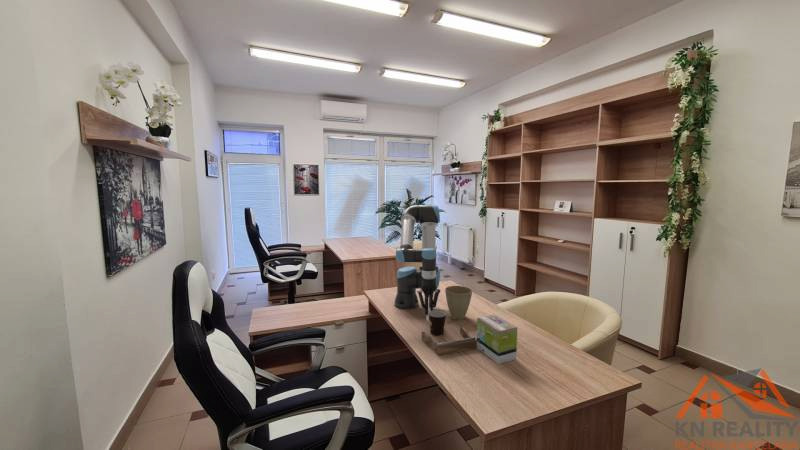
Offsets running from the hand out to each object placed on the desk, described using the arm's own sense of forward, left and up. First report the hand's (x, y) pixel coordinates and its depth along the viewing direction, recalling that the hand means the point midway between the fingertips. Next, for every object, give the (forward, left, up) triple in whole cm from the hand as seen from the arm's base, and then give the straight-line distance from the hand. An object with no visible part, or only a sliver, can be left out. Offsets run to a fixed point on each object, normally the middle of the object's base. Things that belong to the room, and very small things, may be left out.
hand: (428, 320), depth 170 cm
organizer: (+24, 0, -2) cm, 24 cm away
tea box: (+39, +15, -2) cm, 42 cm away
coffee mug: (+11, 0, -2) cm, 11 cm away
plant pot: (-2, +19, -2) cm, 19 cm away
